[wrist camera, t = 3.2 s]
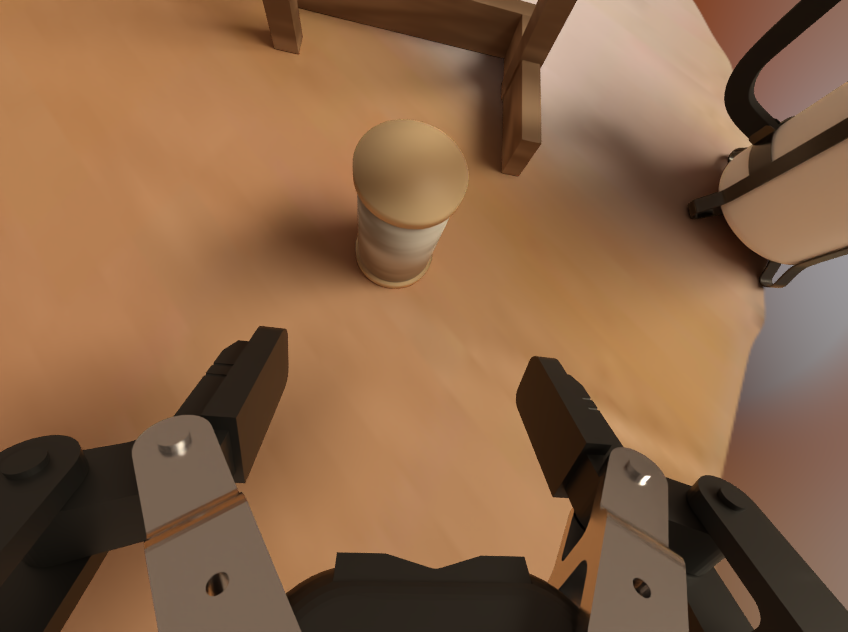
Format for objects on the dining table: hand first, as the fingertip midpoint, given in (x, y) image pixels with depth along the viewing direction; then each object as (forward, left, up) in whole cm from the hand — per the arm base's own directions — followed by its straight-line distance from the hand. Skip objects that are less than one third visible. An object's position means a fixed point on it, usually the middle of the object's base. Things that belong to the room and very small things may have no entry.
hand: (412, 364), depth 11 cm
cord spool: (-8, +6, -13) cm, 17 cm away
